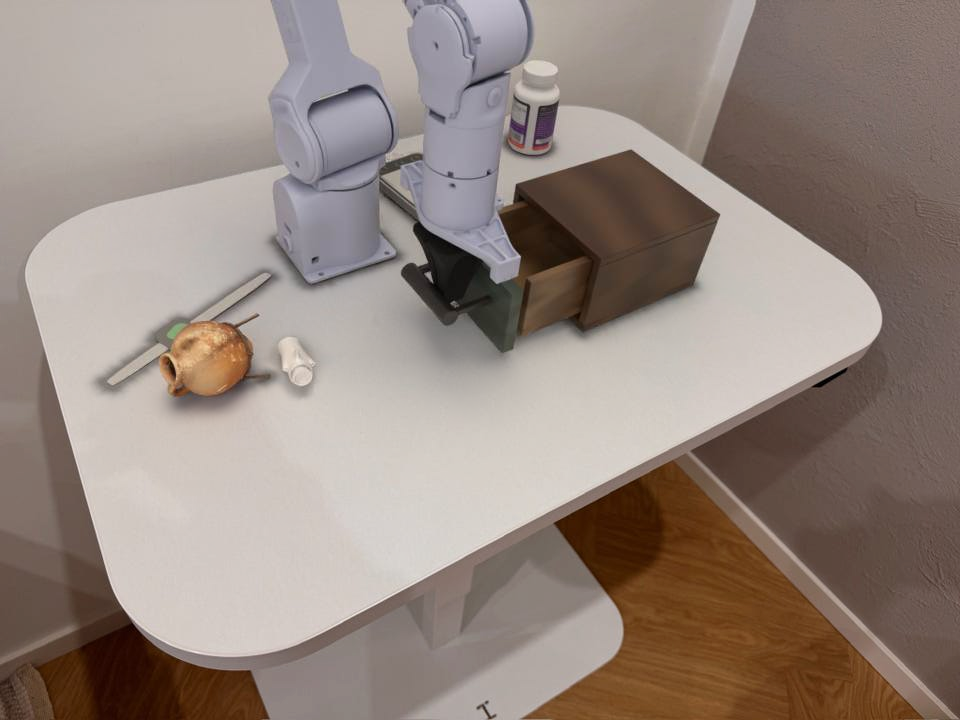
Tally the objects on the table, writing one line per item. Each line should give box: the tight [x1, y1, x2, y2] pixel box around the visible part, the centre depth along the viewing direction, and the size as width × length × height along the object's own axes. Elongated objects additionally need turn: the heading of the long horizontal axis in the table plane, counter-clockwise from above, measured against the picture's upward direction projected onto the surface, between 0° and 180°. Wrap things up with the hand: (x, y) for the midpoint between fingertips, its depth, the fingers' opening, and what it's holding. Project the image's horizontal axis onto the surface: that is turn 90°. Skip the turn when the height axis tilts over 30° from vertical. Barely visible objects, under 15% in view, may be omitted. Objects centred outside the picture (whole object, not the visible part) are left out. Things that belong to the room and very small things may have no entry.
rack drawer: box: [400, 200, 594, 355], centre depth 67 cm, size 18×11×7 cm, turn 124°
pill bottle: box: [507, 59, 561, 156], centre depth 88 cm, size 5×5×10 cm
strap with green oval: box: [106, 272, 272, 386], centre depth 65 cm, size 18×1×3 cm
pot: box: [158, 312, 272, 398], centre depth 59 cm, size 6×8×6 cm
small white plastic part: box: [277, 336, 316, 387], centre depth 61 cm, size 4×6×3 cm, turn 179°
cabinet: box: [512, 149, 721, 333], centre depth 72 cm, size 15×13×9 cm
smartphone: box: [379, 151, 423, 222], centre depth 81 cm, size 7×1×15 cm
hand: (450, 296), depth 65 cm, fingers closed, pressing on rack drawer
